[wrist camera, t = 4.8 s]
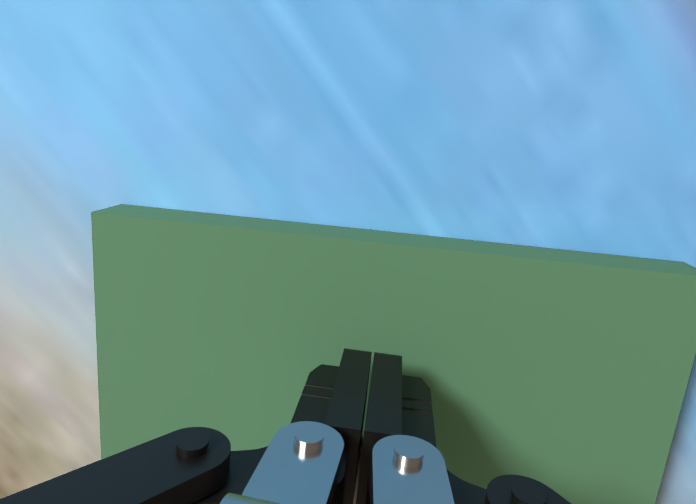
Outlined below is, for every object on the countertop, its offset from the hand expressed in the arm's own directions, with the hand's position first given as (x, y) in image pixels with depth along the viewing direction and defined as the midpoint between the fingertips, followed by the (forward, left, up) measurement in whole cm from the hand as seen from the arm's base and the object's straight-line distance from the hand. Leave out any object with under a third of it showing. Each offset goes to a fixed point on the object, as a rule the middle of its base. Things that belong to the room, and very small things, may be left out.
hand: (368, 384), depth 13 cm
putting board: (0, +5, -2) cm, 6 cm away
